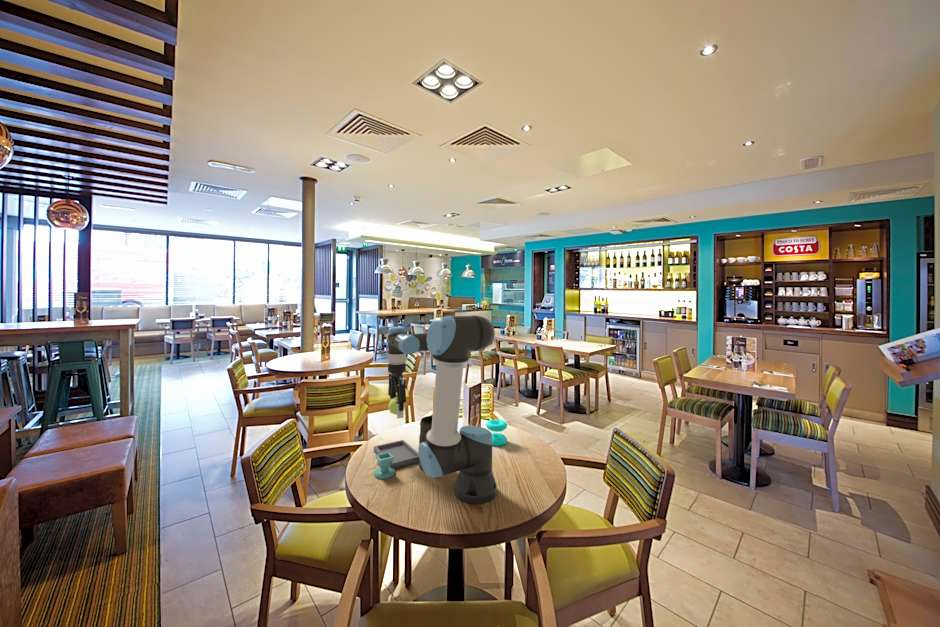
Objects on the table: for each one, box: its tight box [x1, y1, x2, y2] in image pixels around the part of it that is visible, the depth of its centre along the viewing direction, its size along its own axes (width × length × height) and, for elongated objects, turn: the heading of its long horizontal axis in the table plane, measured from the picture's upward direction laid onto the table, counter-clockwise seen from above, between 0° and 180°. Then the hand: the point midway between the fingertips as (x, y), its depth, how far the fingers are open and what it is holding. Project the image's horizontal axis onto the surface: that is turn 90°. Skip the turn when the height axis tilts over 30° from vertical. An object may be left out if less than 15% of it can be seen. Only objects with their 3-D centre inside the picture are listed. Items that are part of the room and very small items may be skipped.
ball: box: [388, 397, 406, 416], centre depth 159 cm, size 7×7×7 cm
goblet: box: [373, 452, 396, 480], centre depth 144 cm, size 8×8×7 cm
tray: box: [373, 439, 420, 470], centre depth 160 cm, size 20×14×2 cm
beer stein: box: [418, 415, 433, 472], centre depth 150 cm, size 15×11×20 cm
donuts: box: [485, 418, 508, 447], centre depth 175 cm, size 10×10×10 cm
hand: (396, 415), depth 159 cm, fingers closed on ball, 7 cm apart
